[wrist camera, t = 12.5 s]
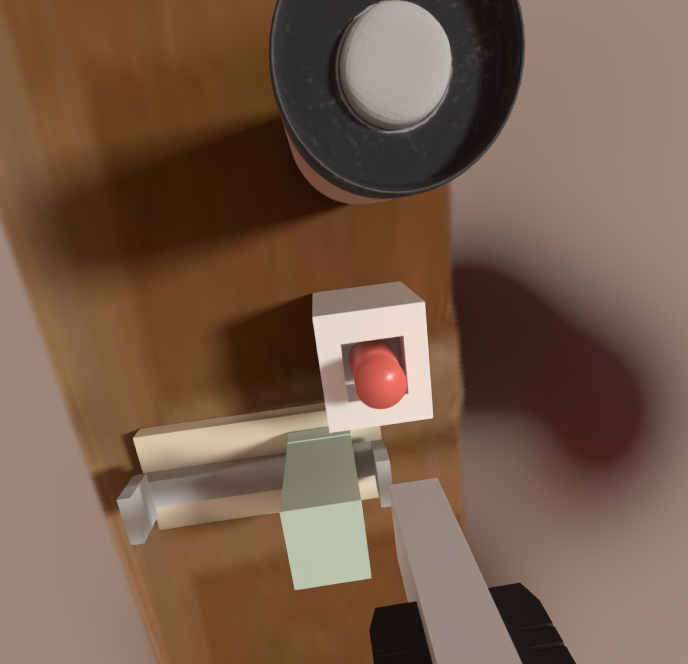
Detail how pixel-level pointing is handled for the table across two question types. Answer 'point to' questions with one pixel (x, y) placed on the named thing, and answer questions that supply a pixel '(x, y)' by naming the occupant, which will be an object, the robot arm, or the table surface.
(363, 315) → the hollow box
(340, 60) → the travel mug
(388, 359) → the button
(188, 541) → the table surface
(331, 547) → the carriage
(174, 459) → the rail
